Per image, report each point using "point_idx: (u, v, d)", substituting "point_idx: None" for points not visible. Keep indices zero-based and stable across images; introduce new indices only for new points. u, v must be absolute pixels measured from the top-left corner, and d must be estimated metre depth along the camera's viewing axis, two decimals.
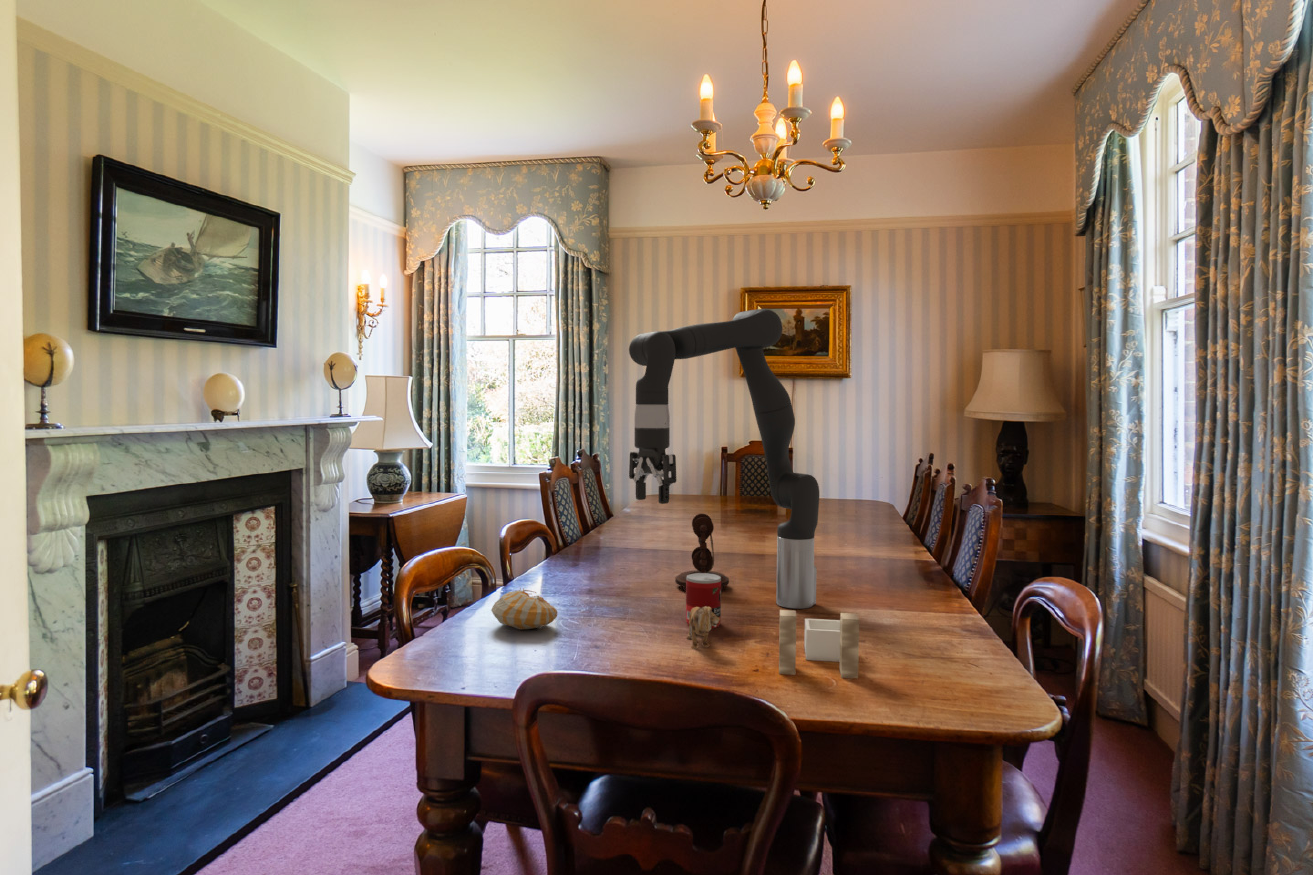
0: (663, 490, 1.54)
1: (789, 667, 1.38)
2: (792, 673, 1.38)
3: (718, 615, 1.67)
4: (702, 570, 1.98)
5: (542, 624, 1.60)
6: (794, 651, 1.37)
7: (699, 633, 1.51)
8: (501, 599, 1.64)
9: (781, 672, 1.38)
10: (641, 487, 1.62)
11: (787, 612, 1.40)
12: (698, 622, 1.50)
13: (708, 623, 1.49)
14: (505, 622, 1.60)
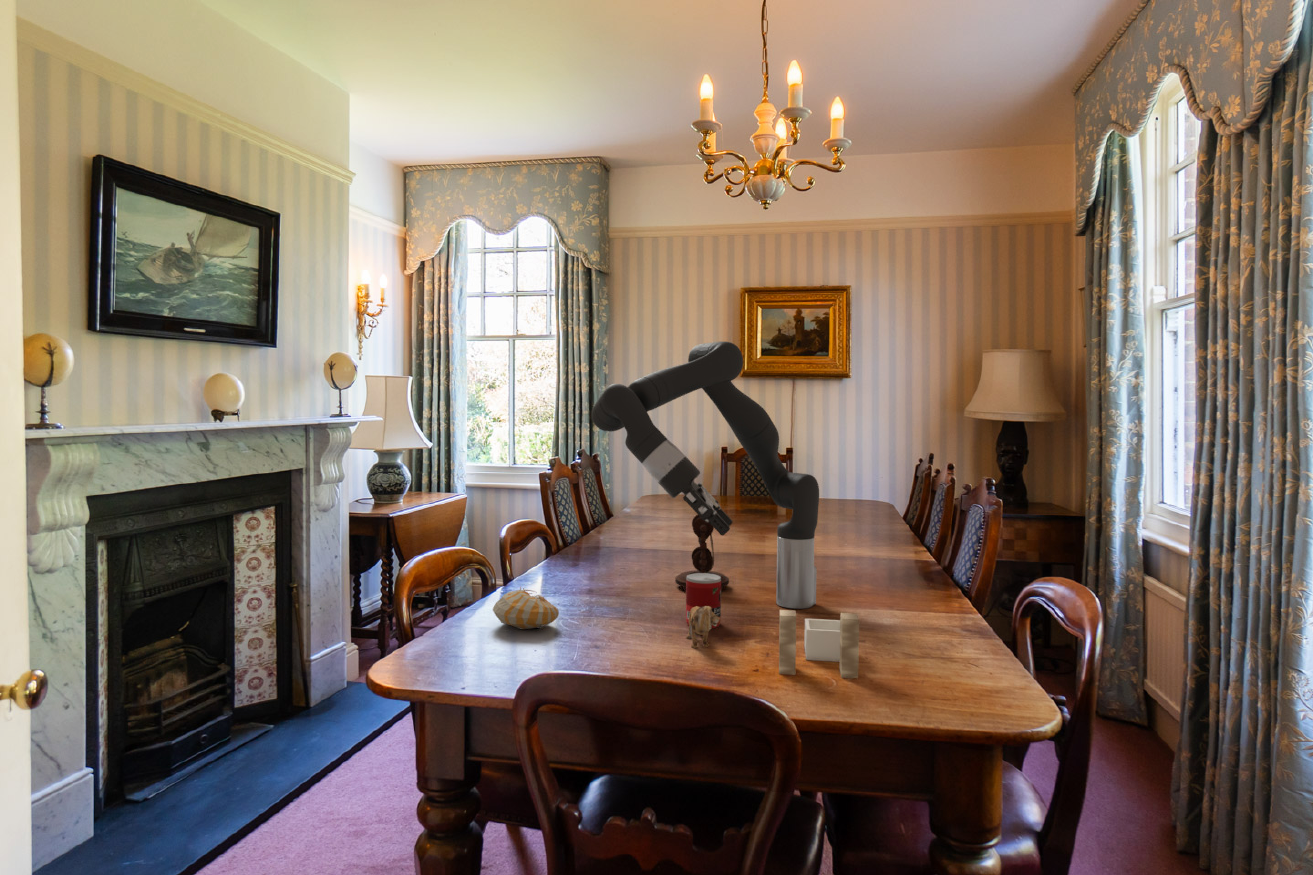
0: (713, 524, 1.39)
1: (789, 667, 1.38)
2: (792, 673, 1.38)
3: (718, 615, 1.67)
4: (702, 570, 1.98)
5: (544, 623, 1.60)
6: (794, 651, 1.37)
7: (699, 632, 1.51)
8: (502, 599, 1.64)
9: (781, 672, 1.38)
10: (719, 516, 1.48)
11: (787, 612, 1.40)
12: (698, 622, 1.50)
13: (708, 622, 1.49)
14: (507, 622, 1.61)
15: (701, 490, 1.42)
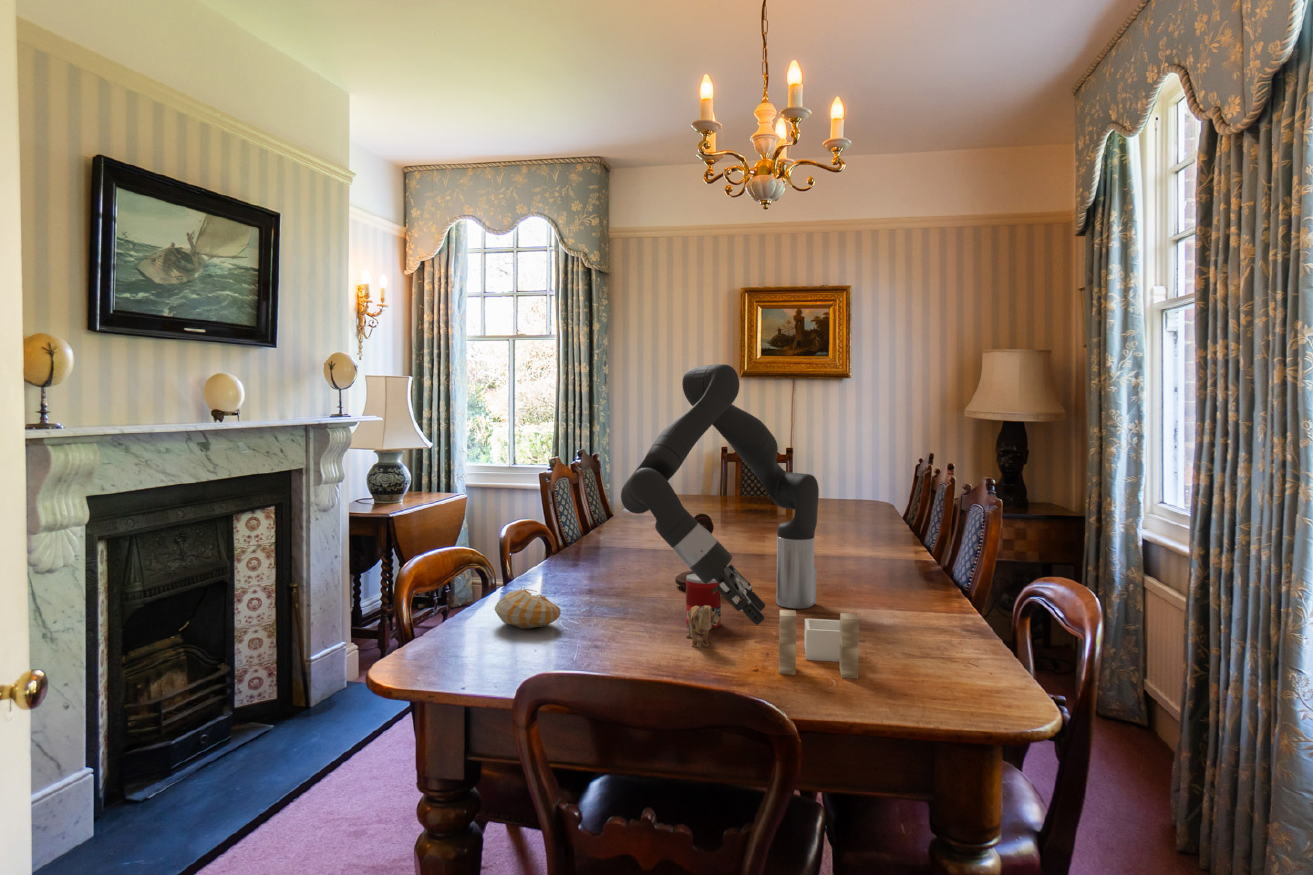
0: (747, 613, 1.35)
1: (789, 667, 1.38)
2: (792, 673, 1.38)
3: (718, 615, 1.67)
4: None
5: (546, 623, 1.61)
6: (794, 651, 1.37)
7: (699, 632, 1.52)
8: (504, 598, 1.65)
9: (781, 672, 1.38)
10: (752, 599, 1.44)
11: (787, 612, 1.40)
12: (698, 621, 1.51)
13: (708, 622, 1.50)
14: (509, 621, 1.61)
15: (734, 577, 1.39)
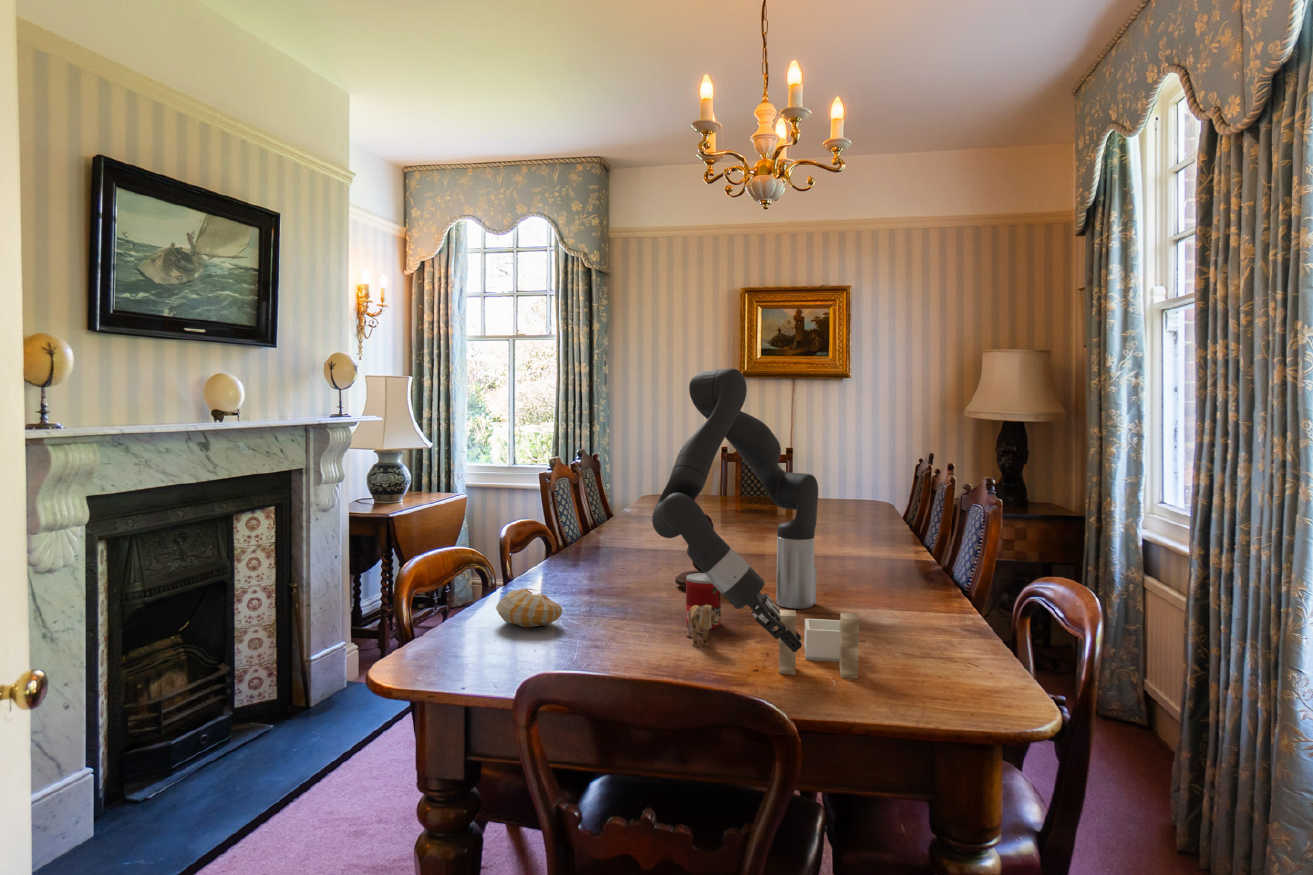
0: (785, 640, 1.37)
1: (789, 667, 1.38)
2: (792, 673, 1.38)
3: None
4: None
5: (549, 621, 1.62)
6: None
7: (700, 631, 1.52)
8: (506, 597, 1.65)
9: (781, 672, 1.38)
10: None
11: (787, 612, 1.40)
12: (699, 620, 1.51)
13: (709, 621, 1.50)
14: (511, 620, 1.62)
15: (768, 604, 1.38)
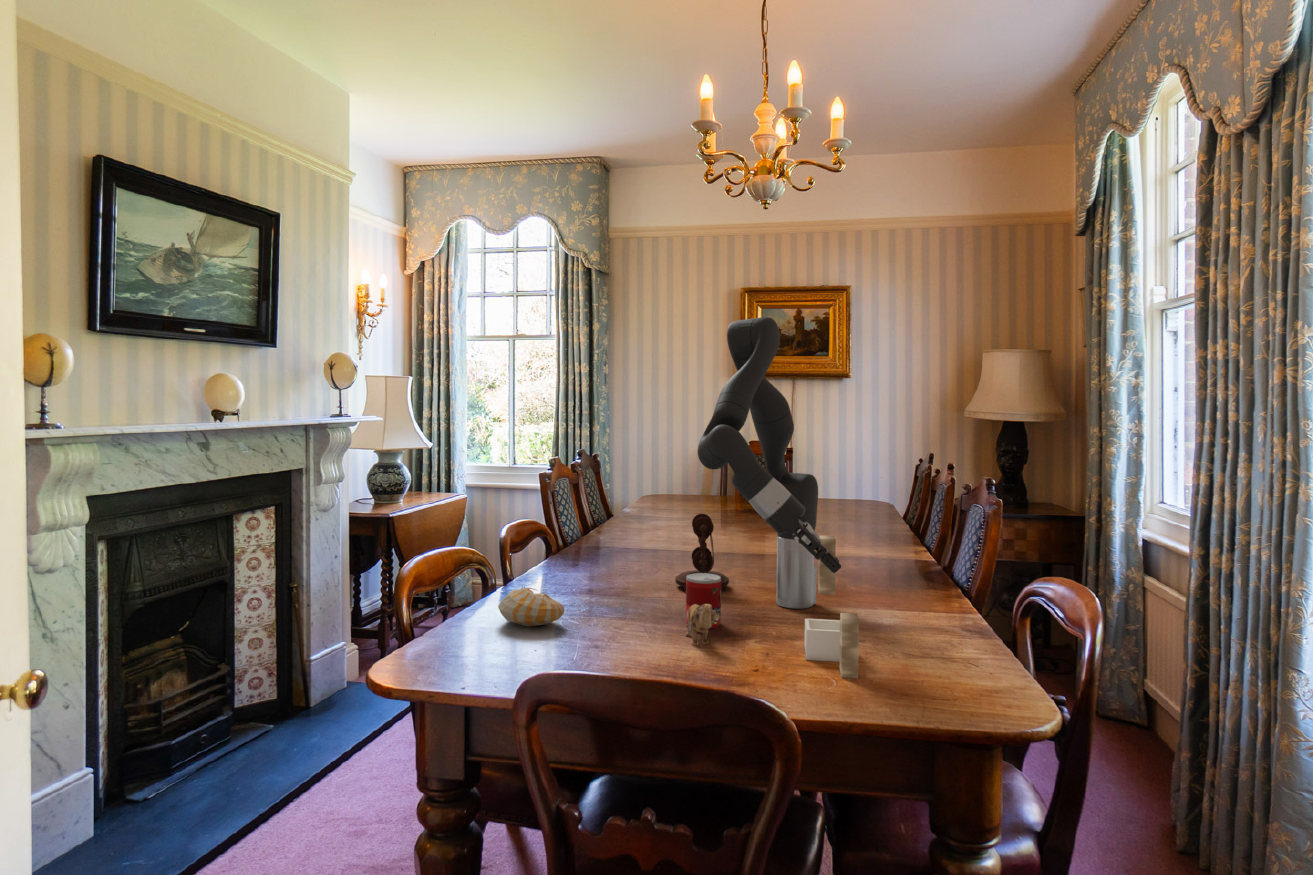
0: None
1: (829, 587, 1.46)
2: (832, 593, 1.46)
3: None
4: (702, 570, 1.98)
5: (552, 620, 1.63)
6: None
7: (700, 630, 1.53)
8: (508, 597, 1.66)
9: (821, 592, 1.47)
10: None
11: (826, 537, 1.48)
12: (699, 619, 1.52)
13: (709, 620, 1.51)
14: (514, 619, 1.62)
15: (809, 528, 1.47)
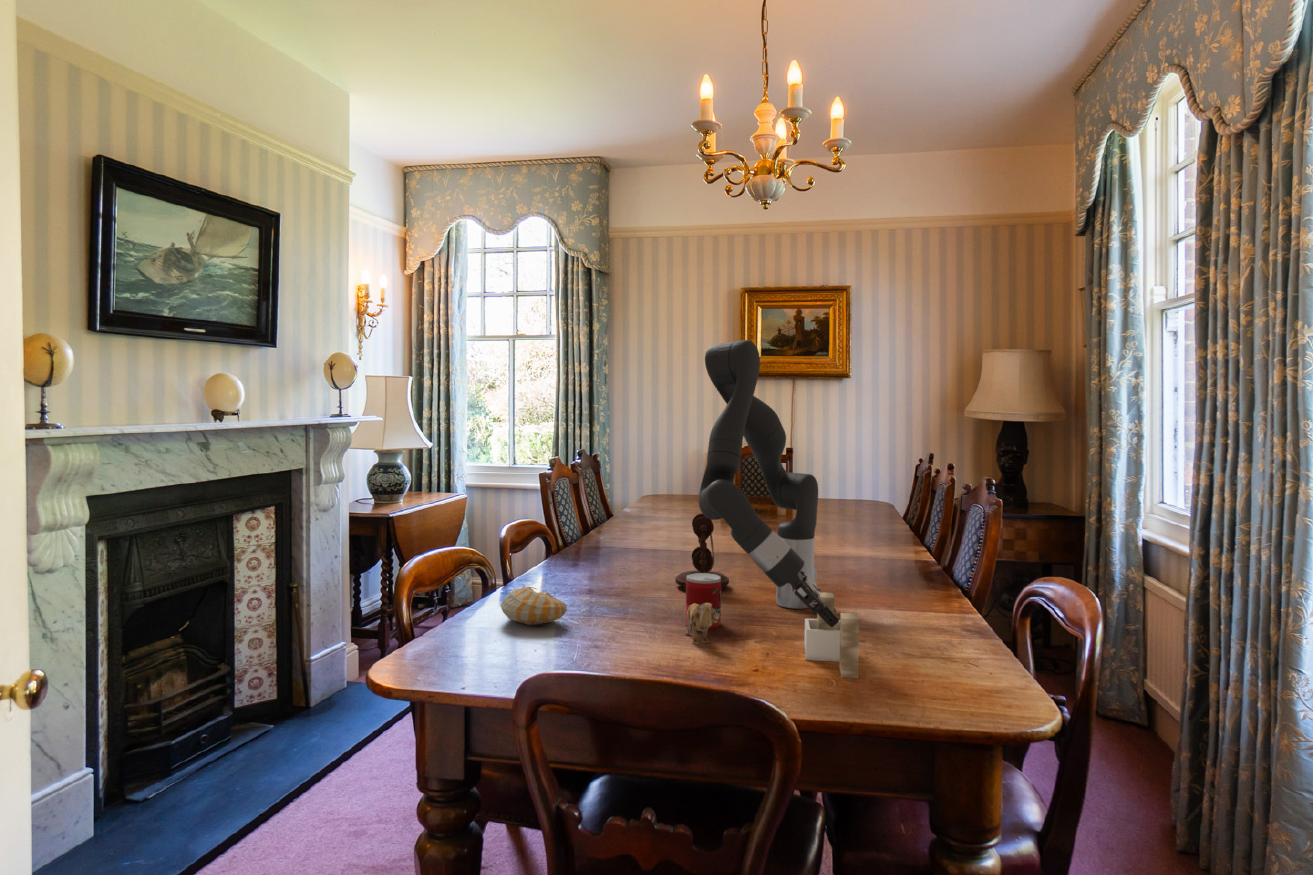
0: (823, 616, 1.44)
1: None
2: None
3: None
4: (702, 570, 1.98)
5: (555, 618, 1.64)
6: None
7: (700, 629, 1.53)
8: (511, 596, 1.66)
9: None
10: None
11: (825, 594, 1.49)
12: (699, 618, 1.52)
13: (709, 619, 1.52)
14: (518, 618, 1.63)
15: (807, 581, 1.47)
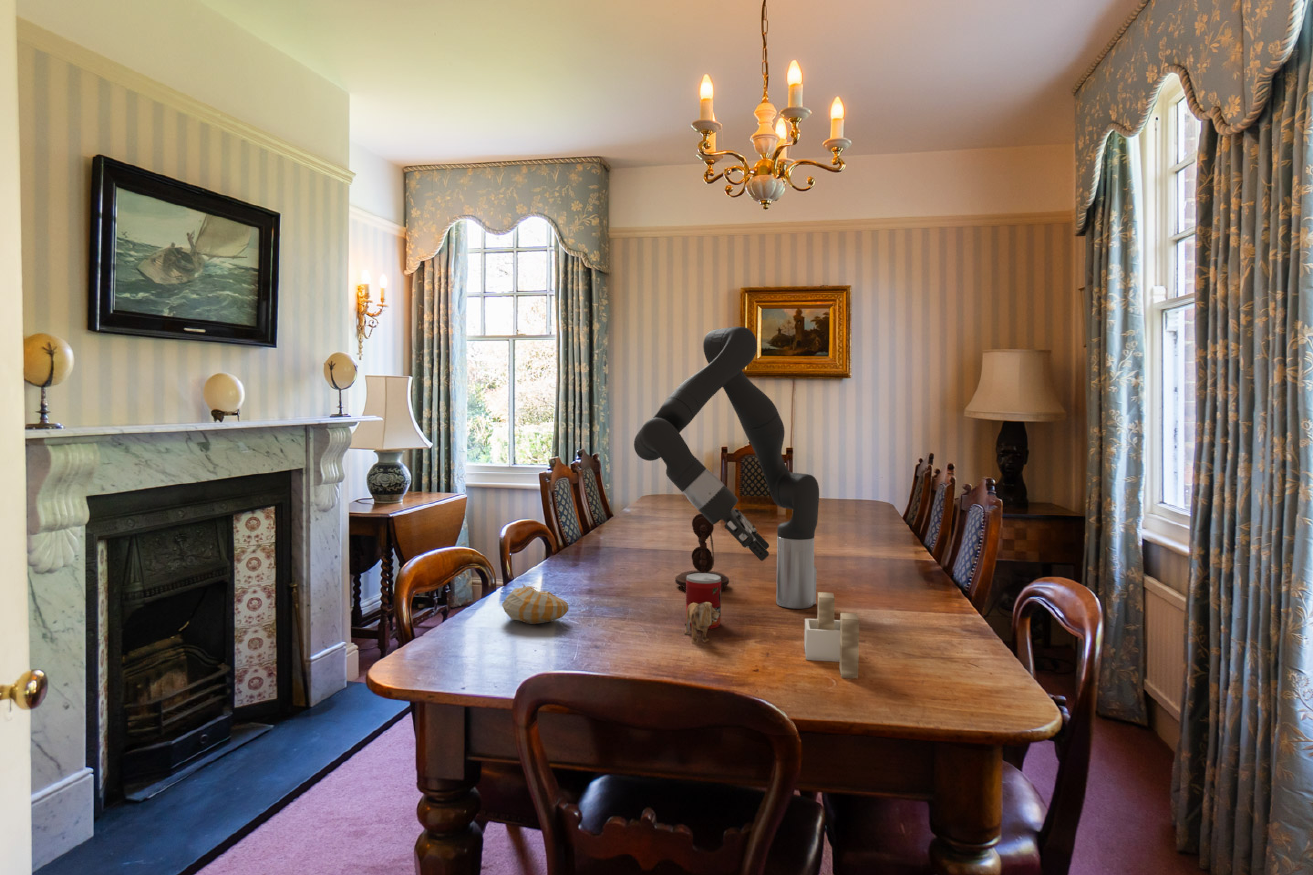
0: (753, 550, 1.46)
1: None
2: None
3: None
4: (702, 570, 1.98)
5: (558, 617, 1.65)
6: None
7: (700, 628, 1.54)
8: (513, 595, 1.67)
9: None
10: (756, 540, 1.55)
11: (825, 594, 1.49)
12: (699, 617, 1.53)
13: (709, 618, 1.53)
14: (520, 617, 1.64)
15: (740, 517, 1.49)
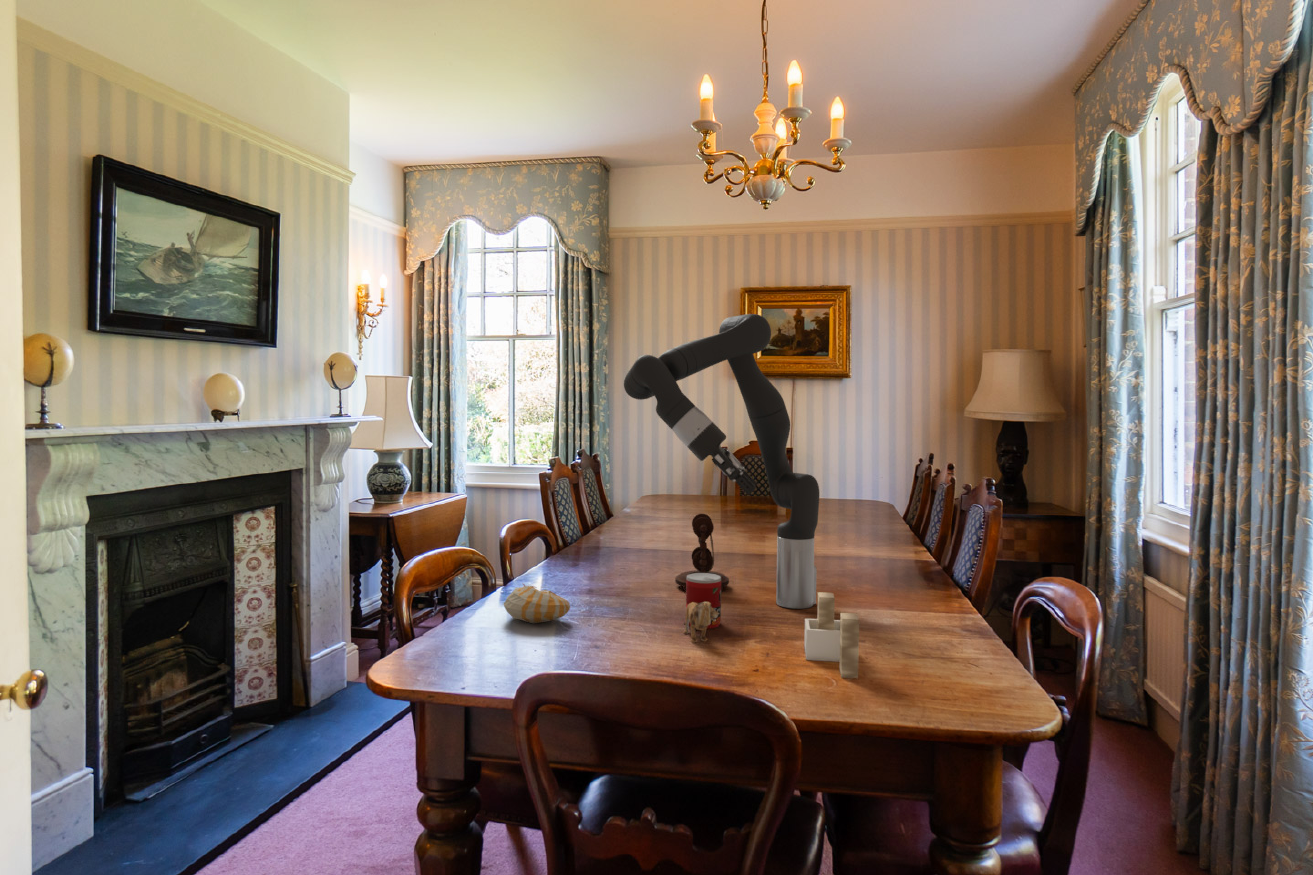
0: (740, 483, 1.49)
1: None
2: None
3: (718, 615, 1.67)
4: (702, 570, 1.98)
5: (560, 616, 1.66)
6: None
7: (699, 628, 1.54)
8: (515, 594, 1.68)
9: None
10: None
11: (825, 594, 1.49)
12: (698, 617, 1.53)
13: (708, 618, 1.53)
14: (523, 616, 1.65)
15: (728, 453, 1.52)
